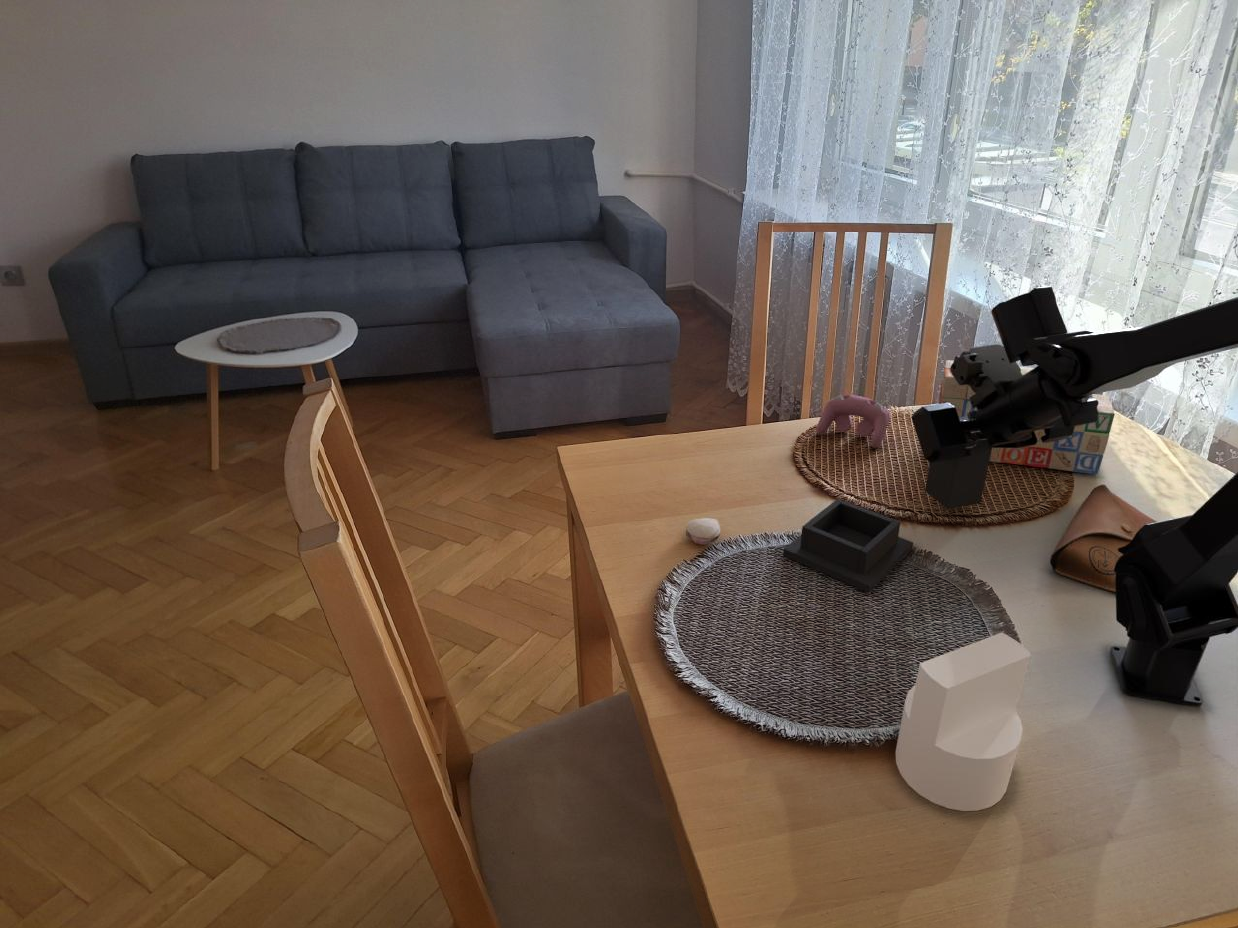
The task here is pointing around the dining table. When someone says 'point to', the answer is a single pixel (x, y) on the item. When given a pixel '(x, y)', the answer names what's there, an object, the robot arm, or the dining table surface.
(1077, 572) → the sunglasses case
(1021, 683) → the cylinder with rectangular tab
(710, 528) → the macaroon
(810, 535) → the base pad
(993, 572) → the dining table surface
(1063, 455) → the stack of blocks
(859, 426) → the video game controller
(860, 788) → the dining table surface
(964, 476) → the black pad block
